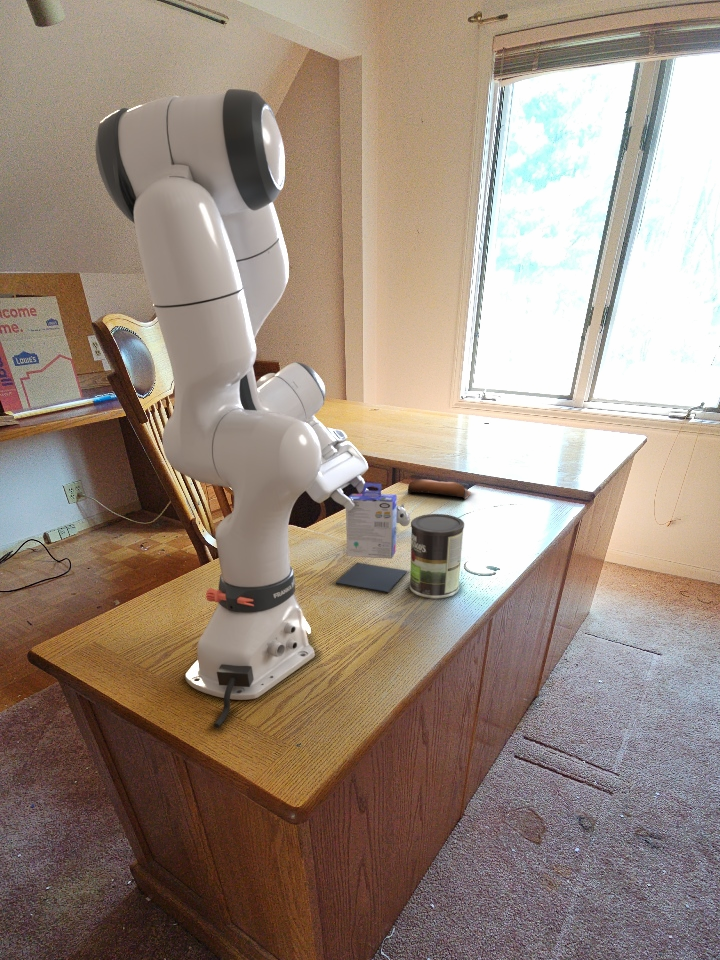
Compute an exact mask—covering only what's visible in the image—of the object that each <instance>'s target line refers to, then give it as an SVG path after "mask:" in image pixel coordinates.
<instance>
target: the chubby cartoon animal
mask: <svg viewBox="0 0 720 960" xmlns="http://www.w3.org/2000/svg"><path fill="white" fill-rule="evenodd" d="M396 524H400V526H402V527H408V526H409V525H410V524H411V514H410V512H408V514H407V511H406V509H405V503H402V504H401V505H400V506H399V505H397V520H396Z"/></svg>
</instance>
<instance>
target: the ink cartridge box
mask: <svg viewBox="0 0 720 960" xmlns="http://www.w3.org/2000/svg"><path fill="white" fill-rule="evenodd" d="M373 487H374V488H376V489H377V490H369V489H368V488H373ZM366 488H367V489H368V490H366ZM347 497H348V498H352V499H353V500H354V501H355V502H356V504H357V505H356V506H355V507H354V508H353V509H352V510H351V511H348V510H347V509H346V508H345V524H346V525H345V527H346V556H347V557H355V558H357V557H358V558H372V559H373V558H374V559H387V560H388V559H389V560H390V559H391V560H392V559H393V558H394V555H395V554H396V552H397V523H396V520H397V506H398V505H397V504H398V500H397V499H398V496H397V494H389V493H388V494H387V493H382V483H379V482H378V483H377V482H376V483H375V482H365V483H364V489H363V494H359V493H351V494H350V495H349V496H347Z"/></svg>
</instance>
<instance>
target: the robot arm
mask: <svg viewBox="0 0 720 960" xmlns="http://www.w3.org/2000/svg"><path fill="white" fill-rule="evenodd" d="M264 99H265V98H263V97H262V96H261V94H259V93H258V92H256V91H253V90H248V89H239V88H228V89H227V90H226V92H223V93H222V92H221V93H220V92H218V93H217V92H215V93H214V92H212V93H211V92H210V93H197V94H189V95H183V96H180V95H177V94H174V95H170V96H169V95H168V96H165V97H161V98H158V99H154V100H152V101H148V102H146V103H142V104H140V105H137V106H135V107H133V108H128V107H122V108H120V109H118V110H116V111H113V112H112V113H110V114H109V115H108V116H106V117H105V118H103V119H102V120H101V121H100V122H99V123H98V127H97V133H96V139H95V147H94V148H95V158H96V163H97V169H98V171H99V175H100V178H101V181H102V183H103V185H104V187H105V190H106V191H107V193H108V195H109V197H110V199H111V200H112V202H113V204H115V205H116V207H117V208H118V209H119V211H121V213H122V214H123V216H125V218H127V219H128V220H129V221H130V222H132V223H133V224H134V227H135V229H134V230H135V235H136V236H135V237H136V241H137V246H138V252H139V253H138V254H139V257H140V262H141V266H142V270H143V275H144V279H145V282H146V286H147V289H148V293H149V297H150V299H151V304H152V307H153V309H154V312H155V313H154V314H155V316H156V318H157V323H158V325H159V328H160V331H161V335H162V338H163V342H164V345H165V348H166V353H167V356H168V359H169V363H170V367H171V370H172V371H171V372H172V378H173V385H174V404H173V410H172V414H171V416H170V417H168V420H167V421H166V423H165V425H164V429H163V432H162V449H163V453H164V456H165V459H166V460H167V462H168V463H169V465H170V467H172V468H173V469H174V470H175V471H177V472H178V473H180V474H182V475H184V476H186V477H188V478H190V479H192V480H194V481H197V482H198V483H202V484H207V485H213V486H218V487H224V488H230V489H231V490H232V494H233V507H232V508H233V509H232V512H230V513H229V514H228V515H226V516H225V517H223V519H221V521H220V522H219V523H218V525H217V526H216V529H215V535H214V538H215V544H216V550H217V556H218V562H219V567H220V575H219V582H218V589H215V588H212V587H210V588H207V590H206V593H205V599H206V600H207V602H215V603H217V605H216V608H215V610H214V611H213V613H212V615H211V617H210V619H209V621H208V623H207V624H206V627H205V628H204V630H203V631H202V634H201V636H200V637H199V639H198V642H197V646H196V654H197V655H196V656H197V660H196V661H195V662H194V663H193V664H192V665H191V667H190V668H189V669H188V670H187V671H186V673H184V676H185V677H184V678H185V681H186V683H187V684H188V685H189V686H190V687H192V688H193V689H195V690H196V691H199V692H201V693H204V694H207V695H209V696H214V697H216V698H221V699H223V708H222V712H221V714H220V715H219V717H218V718H217V719H216V721H215V722H214V723H213V727H214V728H215V729H219V728H220V727H221V726H222V724H223V723H224V722H225V720H226V719H227V717H228V715H229V712H230V710H231V709H230V707H231V705H230V704H231V702H230V701H231V700H234V701H235V700H237V701H248V700H255V699H258V698H259V697H262V695H264V694H266V692H268V691H269V690H271V689H272V688H274V687H275V686H276V685H278V684H280V683H281V682H282V681H283V680H285V679H286V678H287V677H289V676H290V675H292V674H293V673H294V672H295V671H297V670H298V669H300V668H301V667H303V666H305V664H307V663H309V662H310V661H311V660H313V659H314V658H315V657H316V654H315V649H314V648H313V646H312V645H310V644H309V639H308V634H311V627H310V624H309V623H308V622H307V621H306V618H305V617H304V613H303V610H302V608H301V606H300V605H299V602H298V601H297V598H296V596H295V593H296V576H295V574H294V569H293V567H292V566H291V558H290V546H289V545H290V544H289V522H290V518H291V514H292V511H293V508H294V505H295V503H296V502H297V500H298V498H299V497H300V496H301V495H302V494H303V493H305V492H306V493H307V494H308V496H309V497H310V498H311V499H312V500H313V501H314V502H315V503H318V504H321V503H323V502H324V501H326V500H327V499H329V498H331V499H332V500H333V501H334V502H336V503H337V504H339V505H341V506H343V507H344V509H345V510H346V509H347V510H348V511H351V510H352V509H353V508H354V507H355V506H356V505H357V504H356V502H355V501H354V500H353V499H352V498H348V497H349V496H347V495H346V494H344V491H343V489H344V488H346V487H348V486H349V485H352V487H353V488H356V490H357V493H358V494H363V489H364V483H366V481H365V479H364V478H363V477H362V476H363V475H364V474H366V472H367V471H368V470H369V465H368V462H367V460H366V459H365V457H364V456H363V455H362V454H361V453H360V451H359V450H358V448H356V446H354V444H352V442H350V441H348V440H347V439H348V436H347V434H346V433H345V431H343V430H342V429H335V428H331V427H328V426H325V425H324V424H323V423H322V422H321V421H320V420H319V419H318V418H316V416H315V415H317V414H318V413H319V411H321V409H322V408H323V407H324V405H325V401H326V386H325V383H324V382H323V380H322V378H321V376H320V375H318V373H317V372H316V371H315V370H314V369H313V368H312V367H311V366H309V365H308V364H305V363H302V362H299V361H293V362H291V363H290V364H287V365H285V366H284V367H283V368H282V369H280V370H279V371H277V372H276V373H275V372H270V373H266V374H264V375H262V376H261V377H260V378H259V379H258V380H256V376H255V375H256V374H255V370H254V364H255V362H256V359H257V349H258V348H257V344H256V341H255V339H256V337H257V335H258V333H259V331H260V330H261V328H262V326H263V325H264V323H265V321H266V320H267V318H268V317H269V315H270V314H271V312H272V311H273V310H274V309H275V308H276V306H277V305H278V303H279V302H280V300H281V298H282V296H283V295H284V292H285V290H286V287H287V285H288V281H289V274H290V269H289V267H290V266H289V265H290V263H289V256H288V251H287V246H286V243H285V239H284V235H283V231H282V228H281V224H280V220H279V217H278V214H277V210H276V207H275V205H274V202H275V201H276V200H277V198H278V196H279V194H280V193H281V191H282V189H283V187H284V184H285V175H286V174H285V173H286V169H285V168H286V167H285V165H286V164H285V163H286V156H285V147H284V141H283V137H282V133H281V131H280V129H279V128H280V127H279V125H278V122H277V119H276V117H275V114H274V111H273V110H272V108H271V106H270V105H269V103H268V102H267V101H266V100H264ZM366 490H369V489H368V487H367V488H366ZM307 633H308V634H307Z"/></svg>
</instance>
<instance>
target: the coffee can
mask: <svg viewBox="0 0 720 960" xmlns="http://www.w3.org/2000/svg"><path fill="white" fill-rule="evenodd" d="M410 527H411V533H410V535H411V537H410V572H409V573H410V575H409V578H410V579H409V589H410V591H411V592H412V593H413V594H415V595H416V596H419V597H422V598H426V599H433V600H434V599H438V600H439V599H445V598H449V597H452V596H454V595H456V594H457V593H458V592H459V590H460V574H461V562H462V551H463V550H462V548H463V536H464V528H465V521H464V520H462V519H461V518H460V517H458V516H454V515H450V514H443V513H429V514H428V513H427V514H423V515H419V516H416V517H414V518H412V520H410Z"/></svg>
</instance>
